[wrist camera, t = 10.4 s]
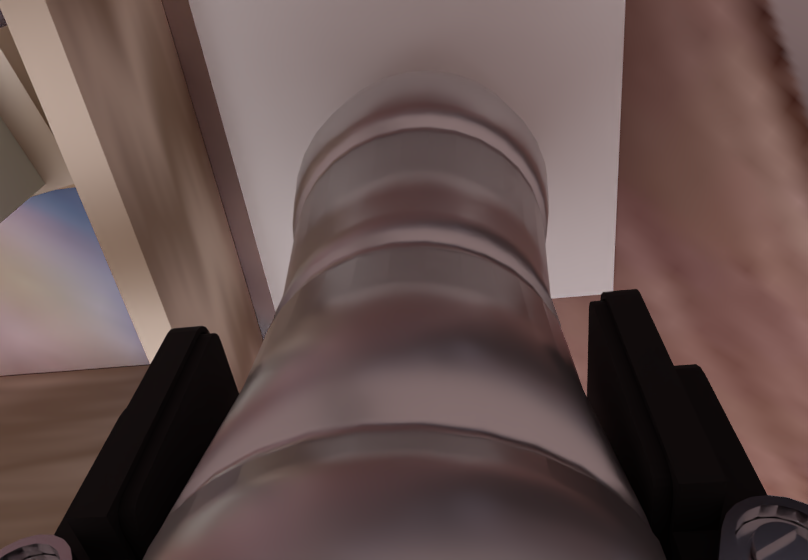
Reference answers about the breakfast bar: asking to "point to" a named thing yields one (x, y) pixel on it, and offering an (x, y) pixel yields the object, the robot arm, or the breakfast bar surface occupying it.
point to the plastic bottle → (413, 361)
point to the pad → (423, 51)
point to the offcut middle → (28, 117)
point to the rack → (118, 234)
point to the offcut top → (15, 174)
